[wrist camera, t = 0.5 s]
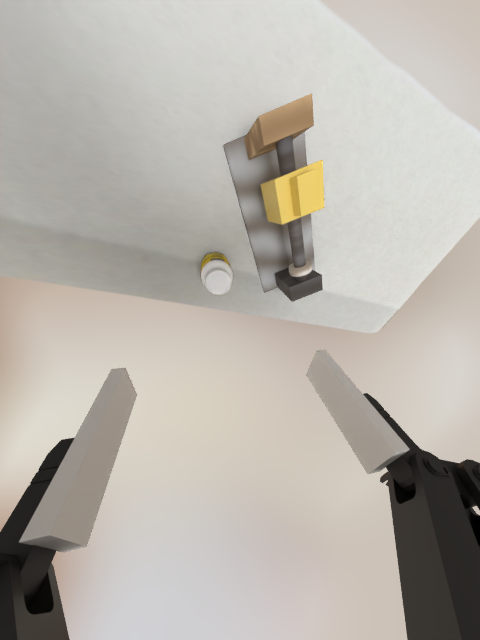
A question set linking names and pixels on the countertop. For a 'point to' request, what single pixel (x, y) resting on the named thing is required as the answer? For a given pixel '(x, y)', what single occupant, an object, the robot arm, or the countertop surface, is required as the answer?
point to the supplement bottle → (216, 273)
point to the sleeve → (294, 194)
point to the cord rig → (248, 173)
